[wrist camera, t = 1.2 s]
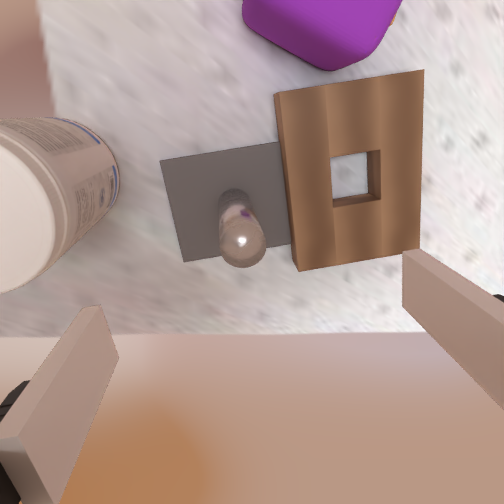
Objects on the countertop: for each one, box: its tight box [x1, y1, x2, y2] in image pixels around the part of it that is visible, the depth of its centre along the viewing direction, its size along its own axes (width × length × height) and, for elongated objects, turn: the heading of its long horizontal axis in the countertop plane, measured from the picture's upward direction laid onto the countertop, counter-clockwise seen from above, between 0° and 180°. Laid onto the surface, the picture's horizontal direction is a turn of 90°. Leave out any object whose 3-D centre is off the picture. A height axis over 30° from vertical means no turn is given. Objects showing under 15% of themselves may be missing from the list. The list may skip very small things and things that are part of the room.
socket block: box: [274, 69, 424, 272], centre depth 33 cm, size 12×16×3 cm
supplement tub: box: [0, 117, 119, 293], centre depth 25 cm, size 10×10×15 cm
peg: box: [219, 188, 266, 268], centre depth 28 cm, size 3×3×12 cm
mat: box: [160, 142, 291, 262], centre depth 34 cm, size 12×10×1 cm
